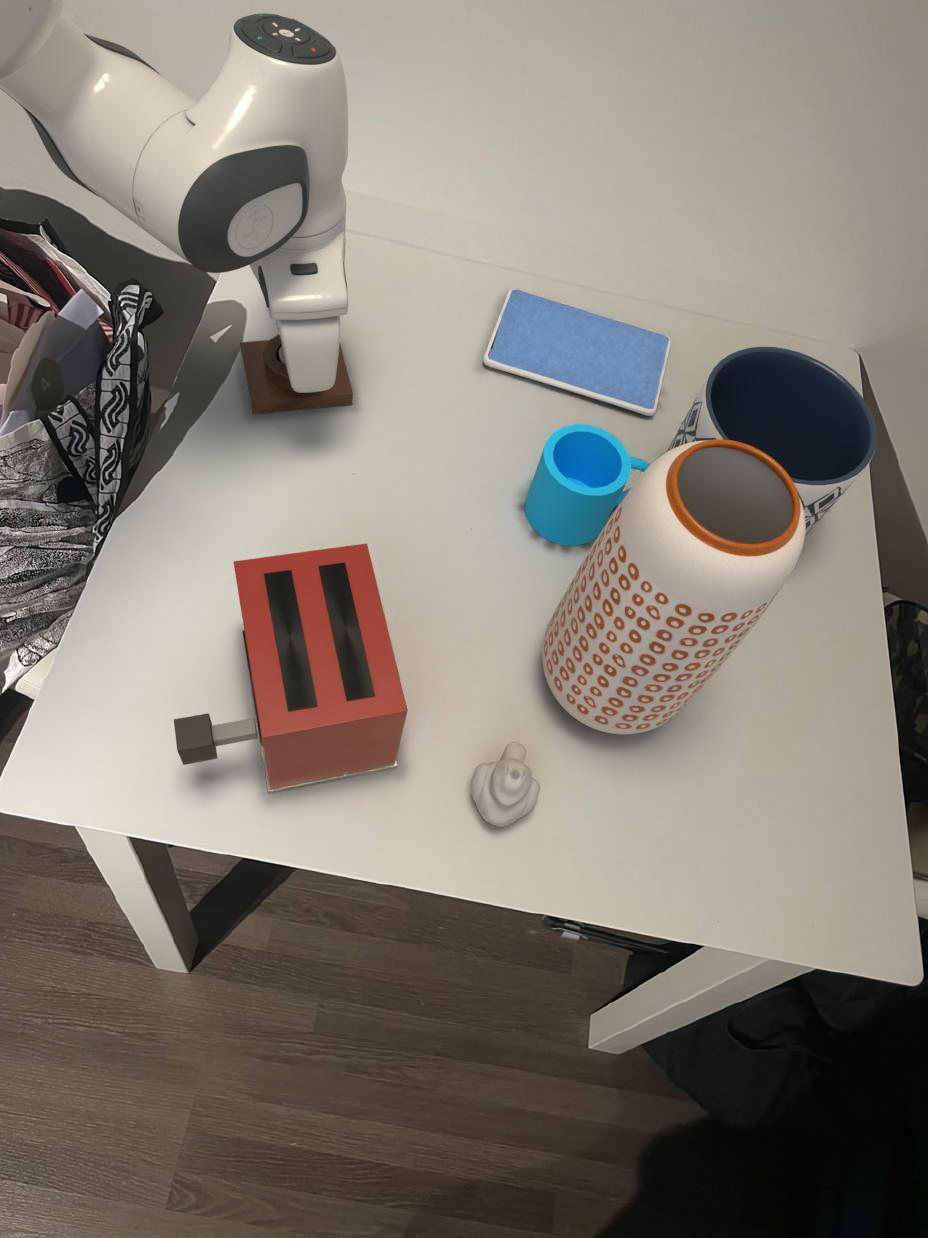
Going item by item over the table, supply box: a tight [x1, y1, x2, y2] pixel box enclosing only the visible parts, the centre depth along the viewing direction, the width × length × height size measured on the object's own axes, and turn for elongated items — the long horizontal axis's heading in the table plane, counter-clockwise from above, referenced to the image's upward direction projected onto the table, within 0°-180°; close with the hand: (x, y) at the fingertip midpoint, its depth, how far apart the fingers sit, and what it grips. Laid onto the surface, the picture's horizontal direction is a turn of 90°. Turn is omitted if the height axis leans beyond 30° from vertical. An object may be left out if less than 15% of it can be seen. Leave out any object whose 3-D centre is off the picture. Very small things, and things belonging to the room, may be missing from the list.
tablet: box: [482, 288, 672, 417], centre depth 95 cm, size 19×13×1 cm, turn 74°
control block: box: [239, 334, 354, 415], centre depth 87 cm, size 10×8×4 cm
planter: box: [665, 346, 877, 537], centre depth 82 cm, size 16×16×14 cm
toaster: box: [233, 543, 408, 794], centre depth 67 cm, size 10×14×12 cm
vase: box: [541, 440, 806, 735], centre depth 65 cm, size 13×13×28 cm
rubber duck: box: [470, 741, 541, 827], centre depth 67 cm, size 5×7×8 cm
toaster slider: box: [173, 713, 258, 766], centre depth 62 cm, size 5×2×3 cm, turn 105°
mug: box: [524, 423, 651, 547], centre depth 82 cm, size 12×8×8 cm
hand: (296, 352), depth 85 cm, fingers closed, pressing on button
